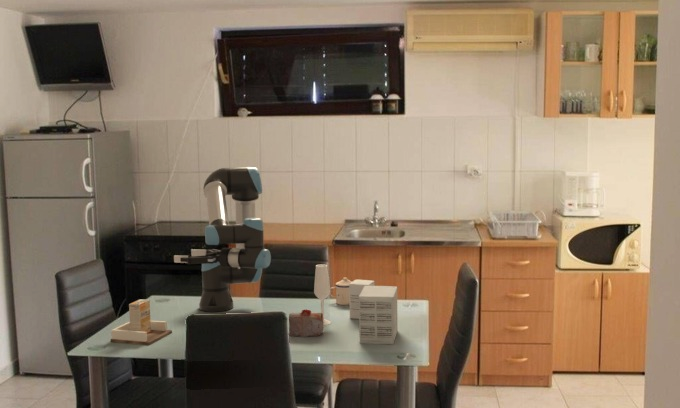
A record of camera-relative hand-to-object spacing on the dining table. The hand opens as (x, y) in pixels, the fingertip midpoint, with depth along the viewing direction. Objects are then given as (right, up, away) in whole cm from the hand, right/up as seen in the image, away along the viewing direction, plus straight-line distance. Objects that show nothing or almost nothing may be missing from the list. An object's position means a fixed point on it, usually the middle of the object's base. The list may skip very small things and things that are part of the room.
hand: (183, 255), depth 276 cm
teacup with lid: (+64, -25, +40) cm, 79 cm away
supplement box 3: (+77, -30, -12) cm, 84 cm away
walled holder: (-15, -31, -7) cm, 35 cm away
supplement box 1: (-15, -30, -7) cm, 35 cm away
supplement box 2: (+72, -27, +17) cm, 79 cm away
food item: (+50, -30, -7) cm, 59 cm away
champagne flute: (+56, -28, +8) cm, 63 cm away
